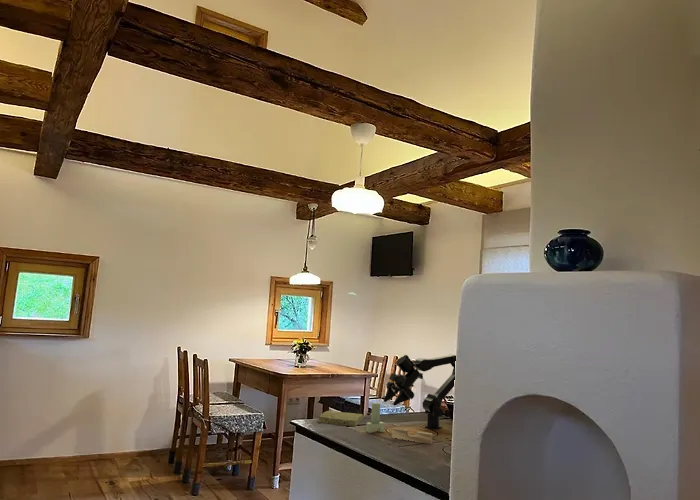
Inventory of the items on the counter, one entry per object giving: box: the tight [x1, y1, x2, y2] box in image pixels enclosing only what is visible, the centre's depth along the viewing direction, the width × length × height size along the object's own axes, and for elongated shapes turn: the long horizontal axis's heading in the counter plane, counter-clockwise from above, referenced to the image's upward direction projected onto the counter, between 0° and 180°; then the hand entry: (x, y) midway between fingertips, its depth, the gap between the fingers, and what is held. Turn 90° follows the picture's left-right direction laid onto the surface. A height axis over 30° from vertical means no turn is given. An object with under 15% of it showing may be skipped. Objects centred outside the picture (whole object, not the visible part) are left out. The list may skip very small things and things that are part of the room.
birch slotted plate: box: [391, 427, 433, 445], centre depth 237 cm, size 2×18×4 cm, turn 64°
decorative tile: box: [317, 410, 364, 427], centre depth 271 cm, size 19×20×4 cm
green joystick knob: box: [365, 402, 385, 434], centre depth 252 cm, size 8×4×13 cm, turn 115°
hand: (388, 403), depth 255 cm, fingers open, 9 cm apart
